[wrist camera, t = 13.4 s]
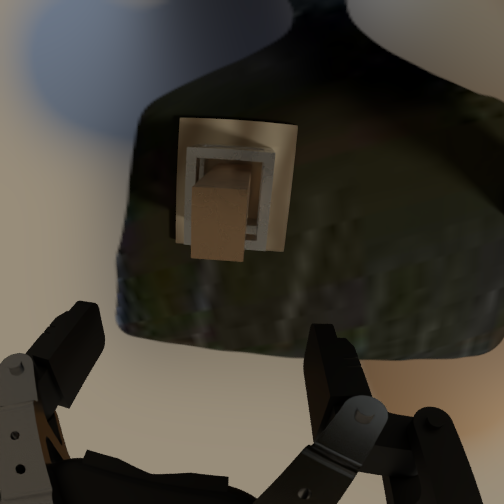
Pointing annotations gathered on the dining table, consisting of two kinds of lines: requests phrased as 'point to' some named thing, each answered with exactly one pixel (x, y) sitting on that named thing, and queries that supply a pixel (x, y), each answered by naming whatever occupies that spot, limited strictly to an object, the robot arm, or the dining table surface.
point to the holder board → (245, 135)
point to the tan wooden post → (220, 213)
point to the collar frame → (203, 151)
